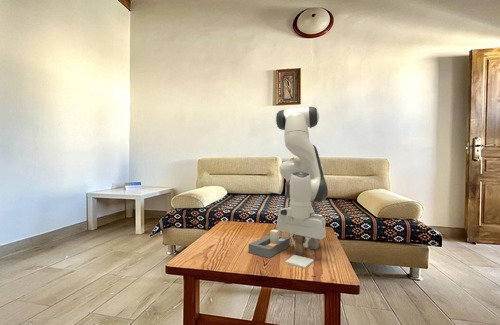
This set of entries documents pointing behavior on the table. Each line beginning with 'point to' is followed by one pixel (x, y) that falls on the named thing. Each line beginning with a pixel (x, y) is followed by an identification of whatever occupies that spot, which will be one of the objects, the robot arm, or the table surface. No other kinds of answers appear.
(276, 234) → the switch tab
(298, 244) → the brown wooden beam
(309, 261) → the pad
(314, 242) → the decorative mushroom
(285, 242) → the switch panel
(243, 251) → the table surface
